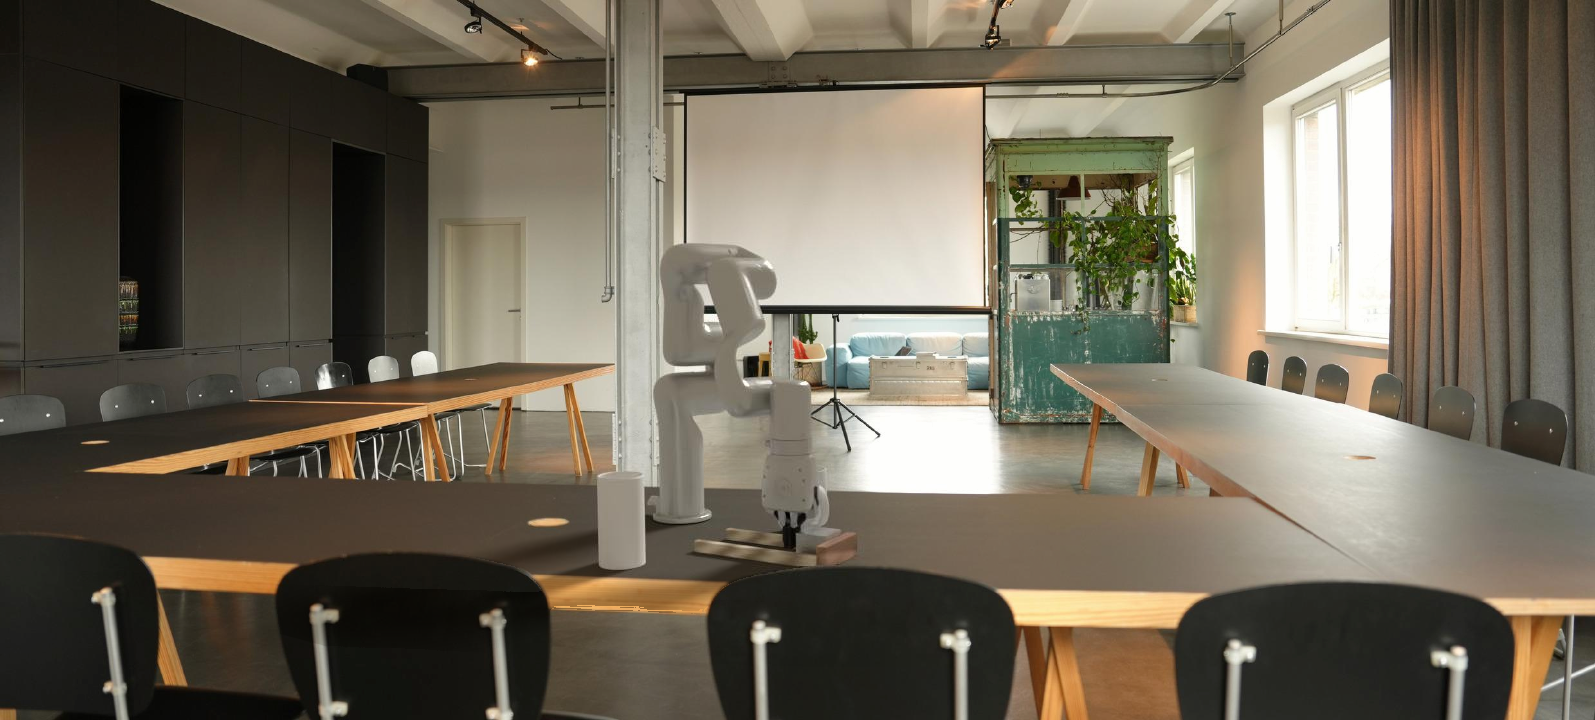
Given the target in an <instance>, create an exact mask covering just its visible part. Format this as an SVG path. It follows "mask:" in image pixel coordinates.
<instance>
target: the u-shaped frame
mask: <svg viewBox="0 0 1595 720" xmlns="http://www.w3.org/2000/svg"><path fill="white" fill-rule="evenodd" d="M725 540H726V541H735V542H744V543H748V544H757V545H766V546H772V547H778V548H784V542H783V537H782V533H773V532H766V531H757V530H749V529H742V528H734V527H729V528H725ZM793 550H796V548H794V549H793ZM693 551H694V552H695V553H701V554H708V555H716V556H723V557H730V558H736V559H743V560H751V561H757V562H763V563H765V562H766V563H771V564H777V565H778V564H779V565H784V566H785V565H786V566H792V567H799V566H815V565H833V564H838V565H840V564H842V563H844V562H846V561H848V560H851V559H852V558H854V557H856V556H857V555H858V533H857V532H851V531H846V532H845V533H841V535H840V536H838V537H835V538H833V539H831V540H829V541H827V542H825V543H823V544H820V545H818V546H816V555H811V554H803V553H796V551H786V550H780V549H773V548H765V547H758V546H752V545H751V546H750V545H742V544H736V543H729V542H721V541H715V540H714V541H713V540H709V539H708V540H707V539H699V538H698V539H696V540H694V541H693ZM799 568H800V567H799Z"/></svg>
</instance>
